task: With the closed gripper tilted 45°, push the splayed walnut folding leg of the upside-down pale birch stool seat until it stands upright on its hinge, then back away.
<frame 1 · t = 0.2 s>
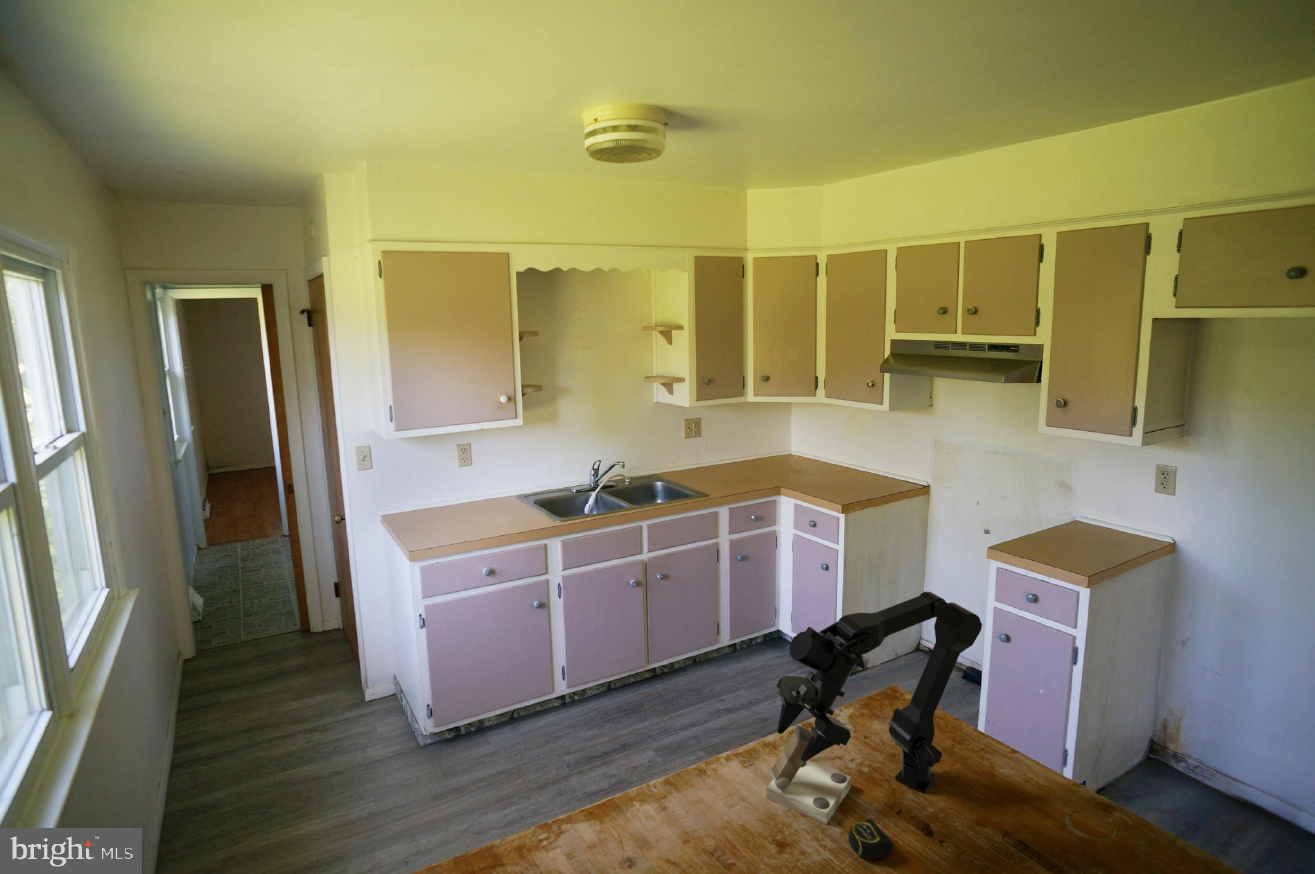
hand: (790, 746, 136), 15 cm above the table, fingers open, 9 cm apart
tape measure: (869, 848, 130), on the table
folding leg: (791, 758, 143), point 8 cm above the table, hinge at 30.0°
stool seat: (809, 792, 145), on the table
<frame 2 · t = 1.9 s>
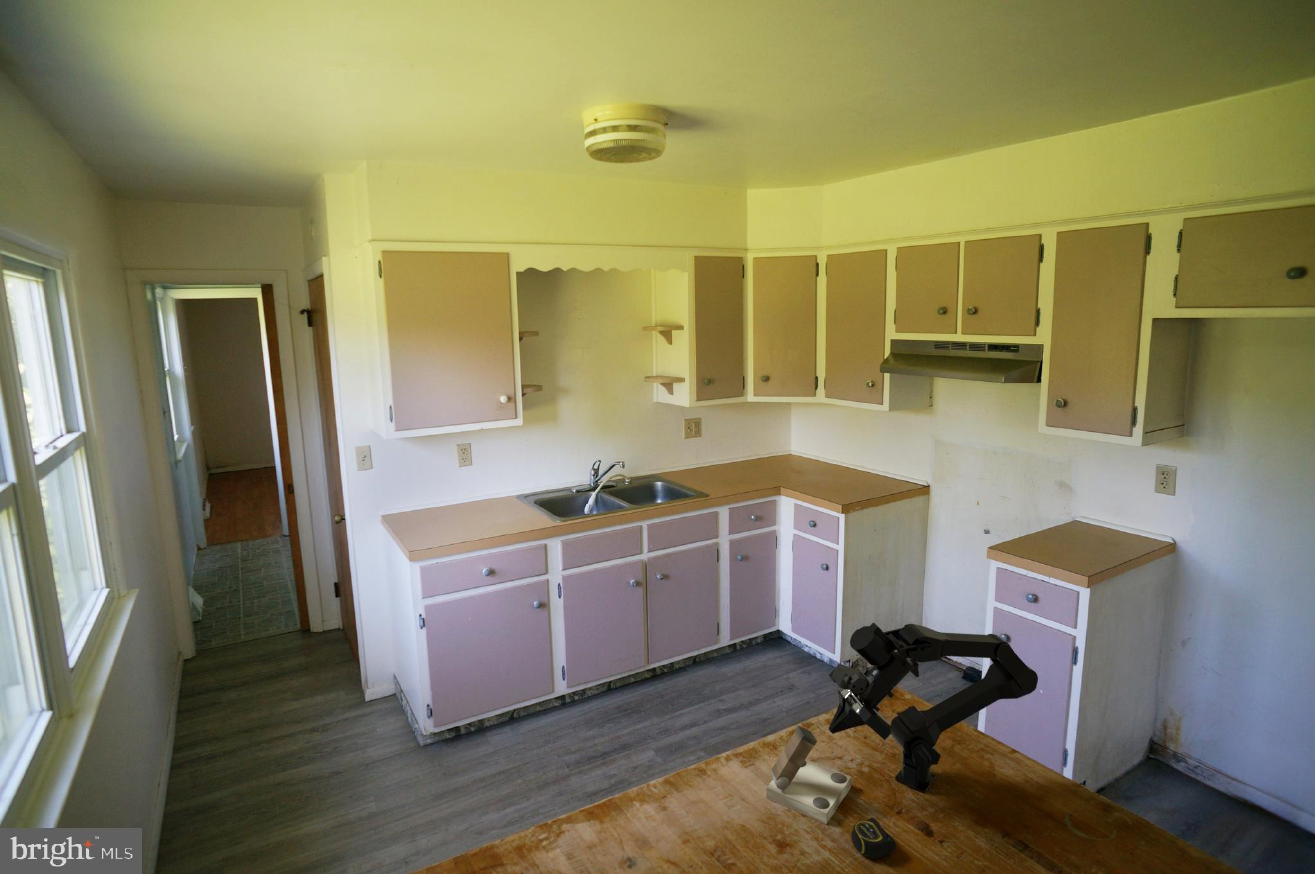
hand: (830, 731, 143), 14 cm above the table, fingers closed
folding leg: (791, 758, 143), point 8 cm above the table, hinge at 31.0°
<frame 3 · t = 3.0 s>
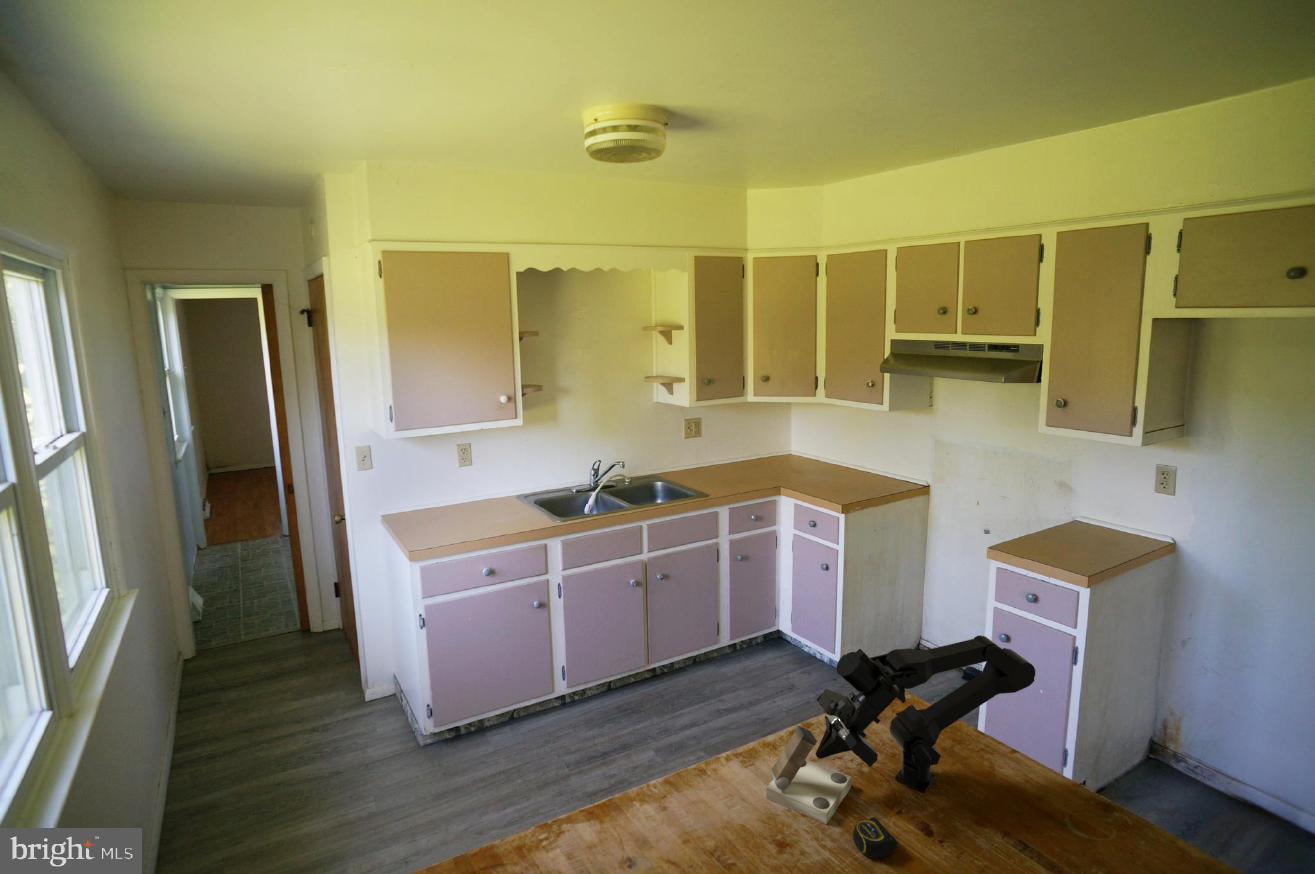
hand: (817, 756, 143), 8 cm above the table, fingers closed
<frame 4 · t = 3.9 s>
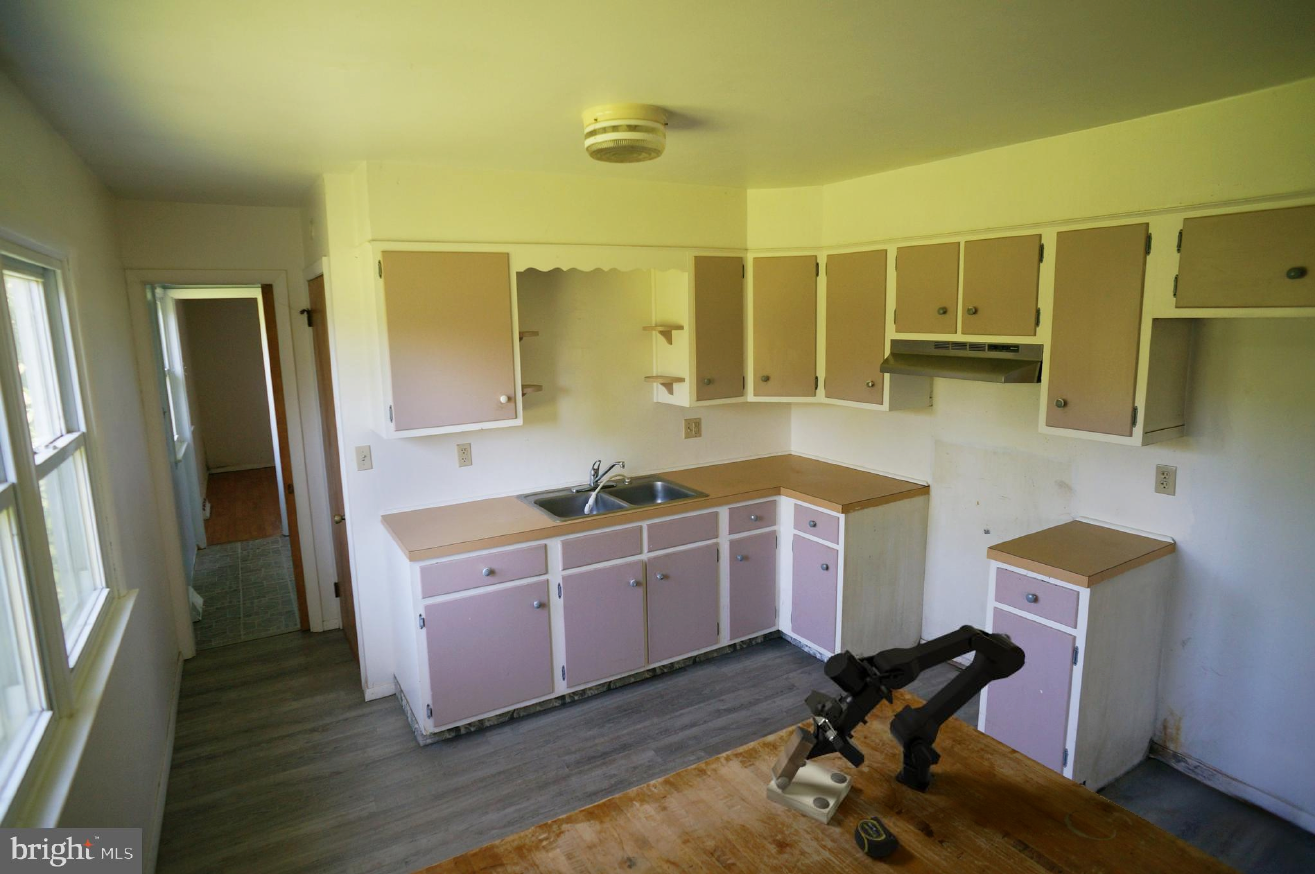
hand: (804, 758, 143), 8 cm above the table, fingers closed, pressing on folding leg
folding leg: (791, 758, 143), point 8 cm above the table, hinge at 30.3°, touching gripper
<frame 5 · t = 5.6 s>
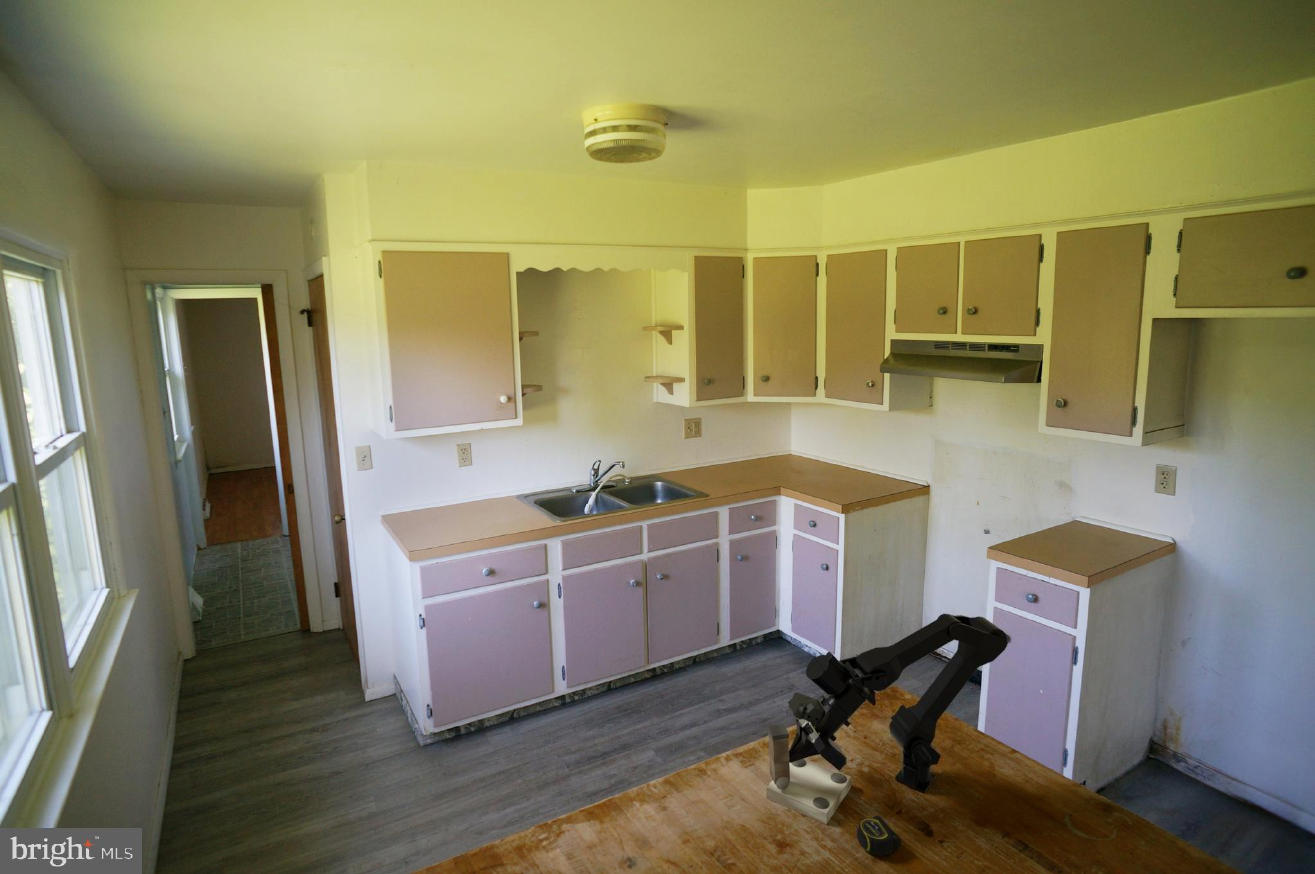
hand: (787, 760, 142), 8 cm above the table, fingers closed, pressing on folding leg
folding leg: (779, 757, 142), point 9 cm above the table, hinge at -3.0°, touching gripper
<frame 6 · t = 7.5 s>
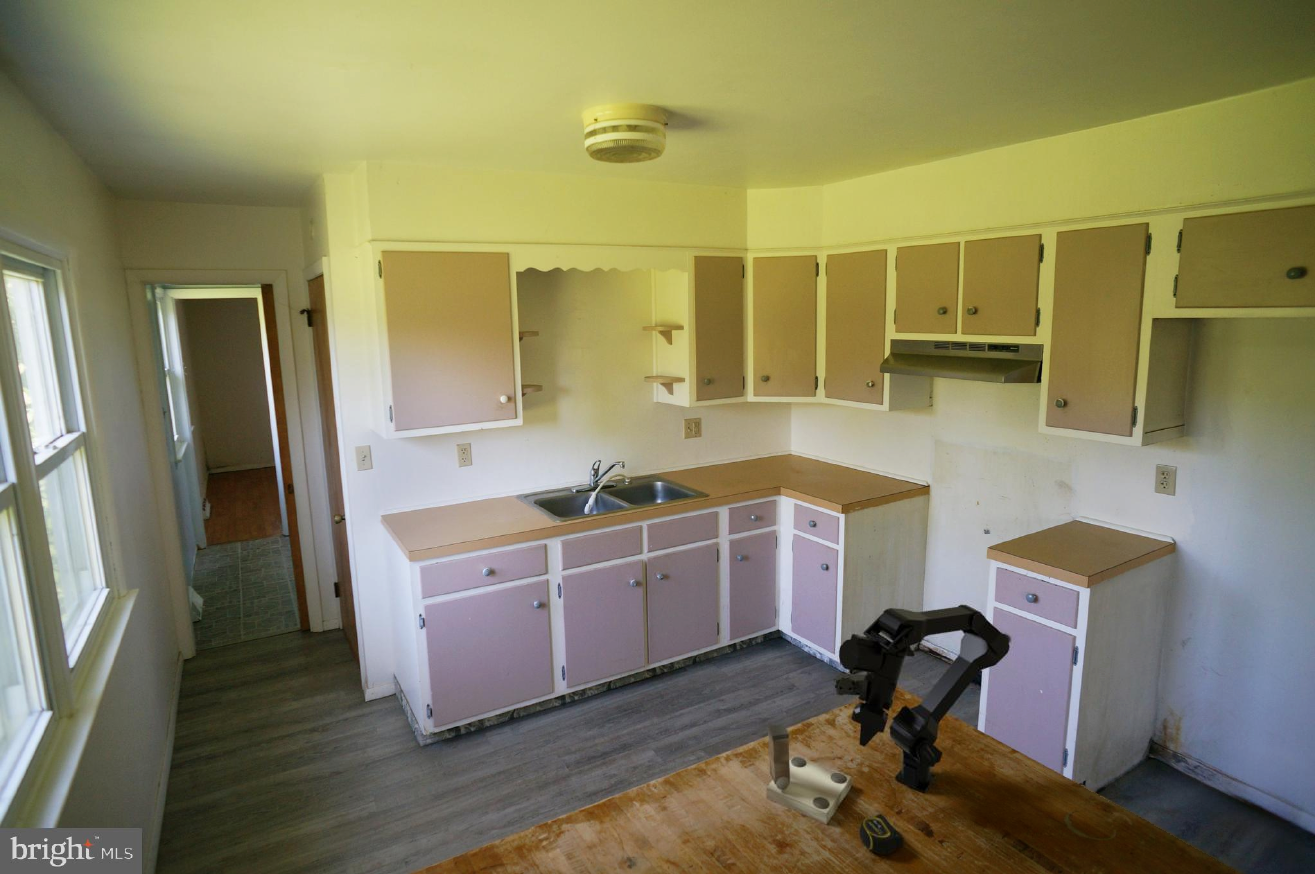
hand: (862, 745, 141), 12 cm above the table, fingers closed
folding leg: (779, 757, 142), point 9 cm above the table, hinge at -3.1°
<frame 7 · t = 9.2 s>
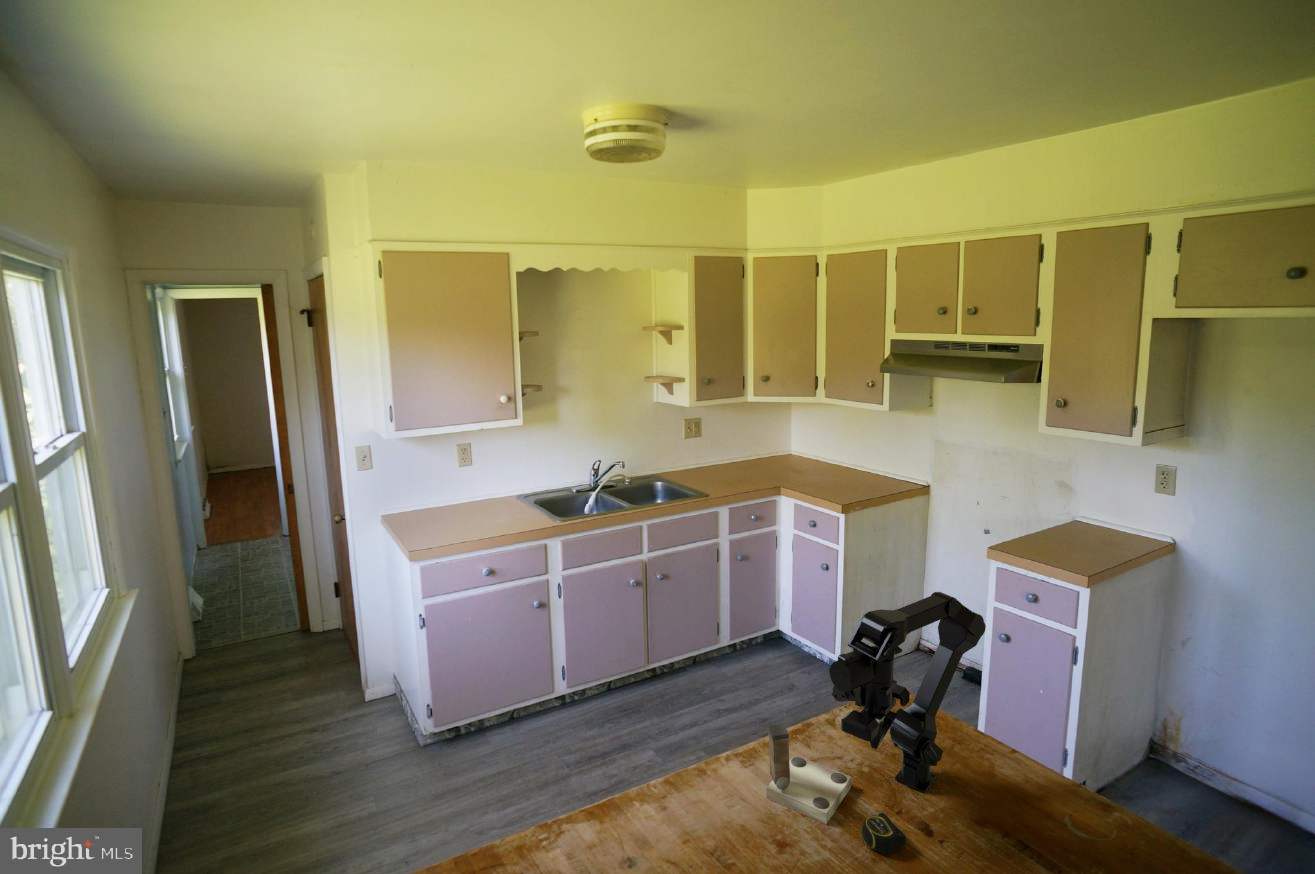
hand: (874, 747, 140), 12 cm above the table, fingers closed
at the end: folding leg at -3° (first picture: +30°); the gripper is holding nothing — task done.
